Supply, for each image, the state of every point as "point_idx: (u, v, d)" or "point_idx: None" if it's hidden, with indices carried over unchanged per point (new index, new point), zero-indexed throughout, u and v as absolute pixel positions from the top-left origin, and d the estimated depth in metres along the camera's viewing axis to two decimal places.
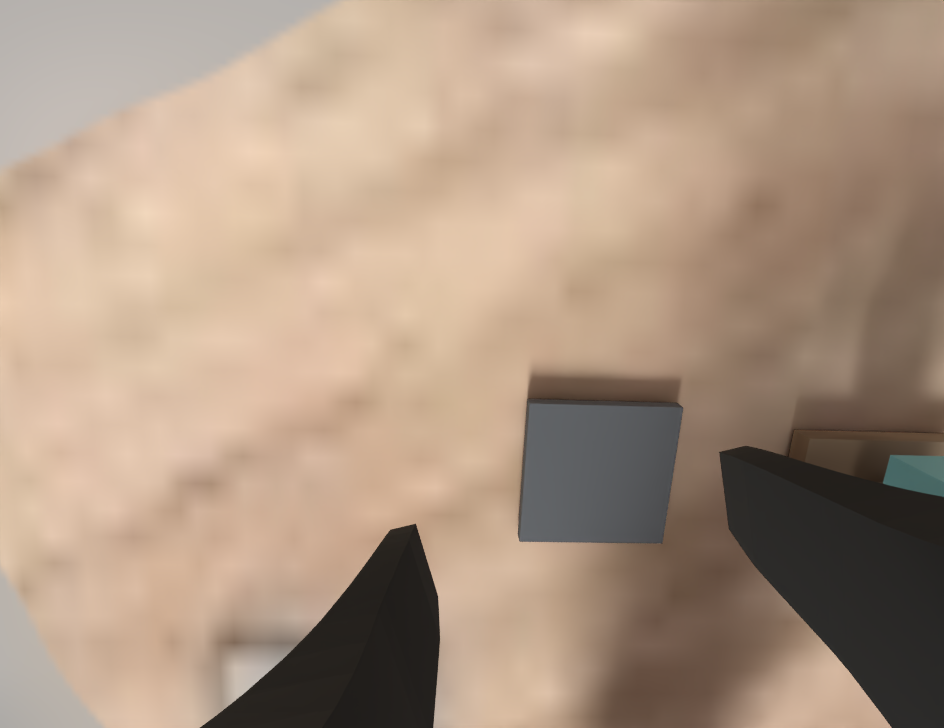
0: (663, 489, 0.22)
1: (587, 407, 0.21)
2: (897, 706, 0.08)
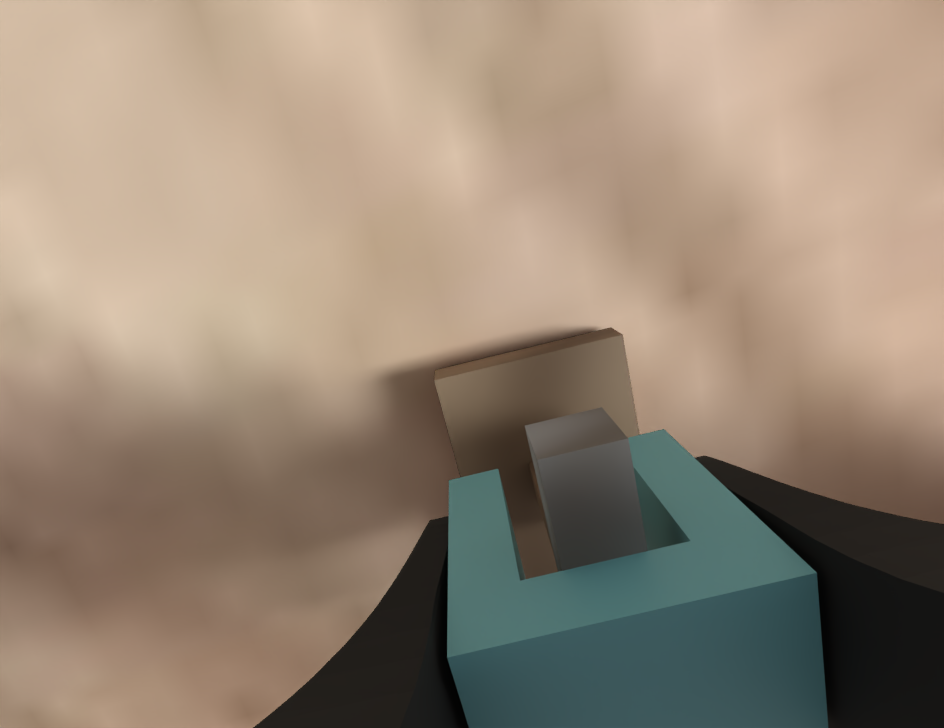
0: None
1: None
2: (836, 720, 0.08)
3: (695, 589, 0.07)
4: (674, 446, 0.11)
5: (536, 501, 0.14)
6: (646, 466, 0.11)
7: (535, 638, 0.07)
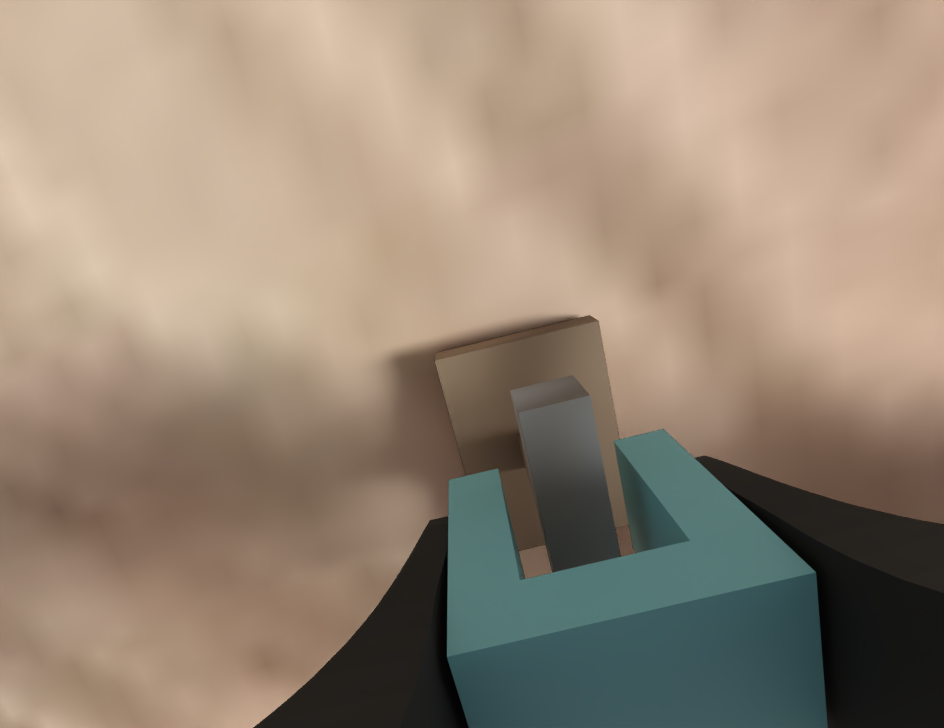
0: None
1: None
2: (836, 720, 0.08)
3: (695, 589, 0.07)
4: (674, 446, 0.11)
5: (524, 468, 0.16)
6: (646, 466, 0.11)
7: (535, 637, 0.07)
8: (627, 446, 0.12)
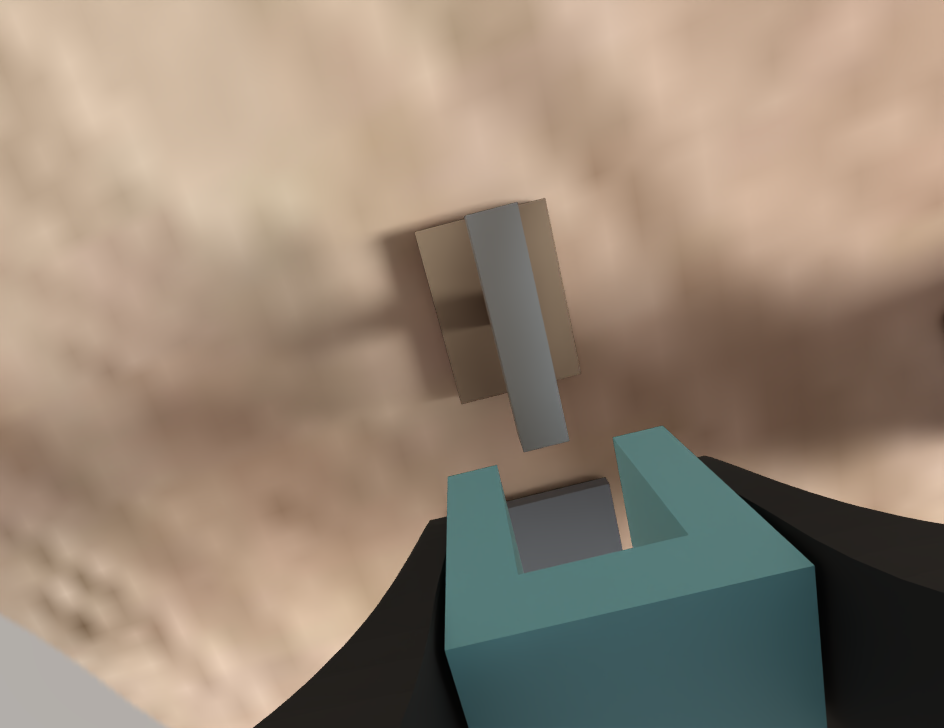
0: (551, 504, 0.23)
1: None
2: (836, 720, 0.08)
3: (693, 582, 0.07)
4: (673, 442, 0.11)
5: (489, 324, 0.20)
6: (645, 462, 0.11)
7: (533, 631, 0.07)
8: (626, 442, 0.12)
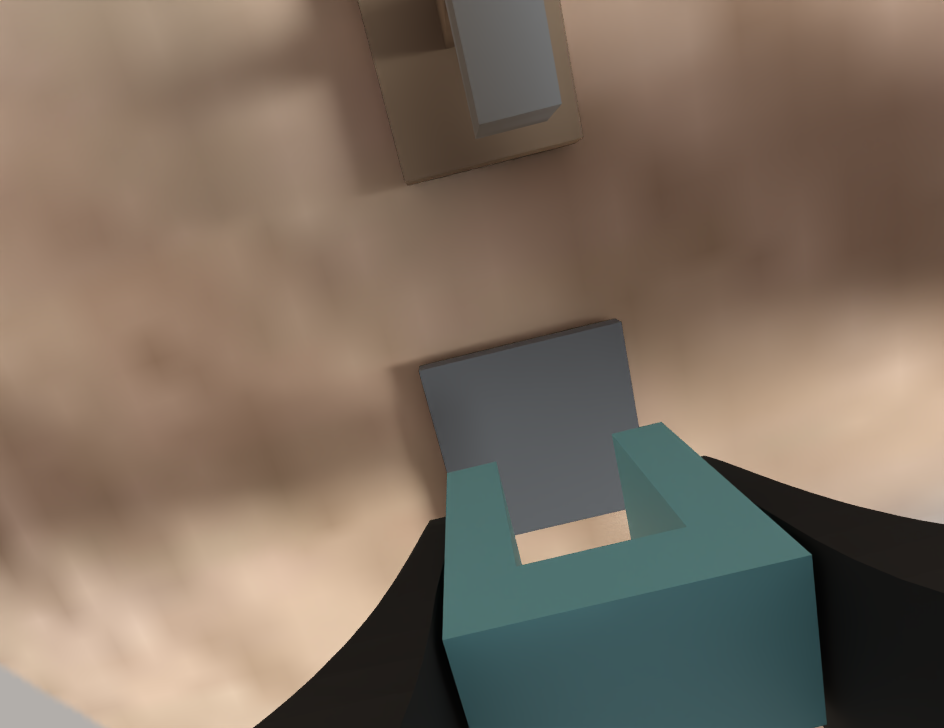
0: (538, 351, 0.16)
1: None
2: (836, 720, 0.08)
3: (691, 572, 0.07)
4: (671, 438, 0.11)
5: (445, 48, 0.13)
6: (643, 457, 0.11)
7: (530, 620, 0.07)
8: (625, 438, 0.12)
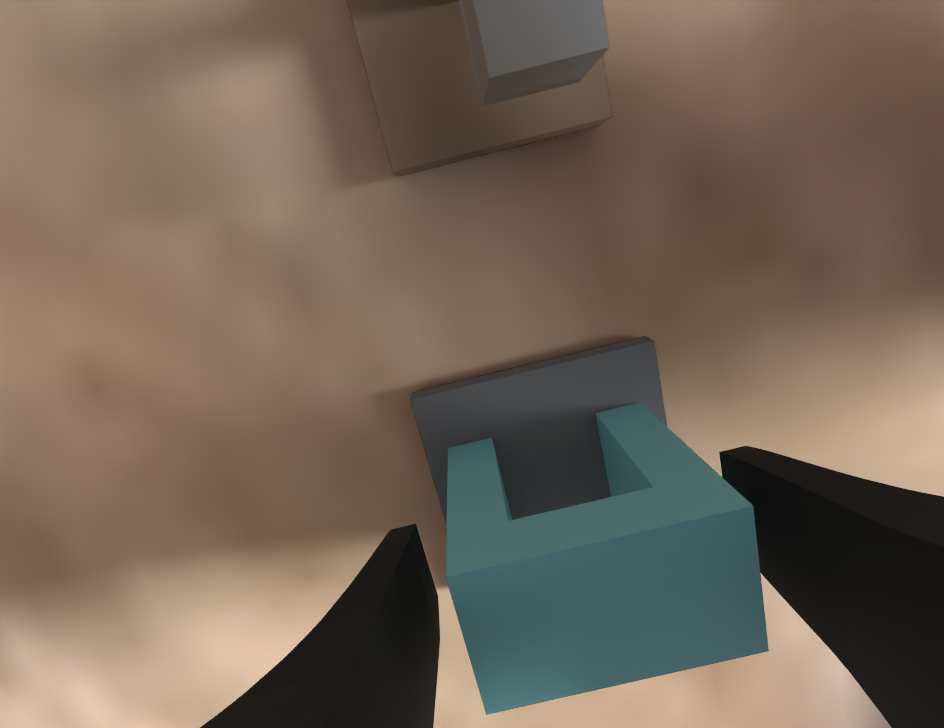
0: (554, 376, 0.13)
1: None
2: (897, 706, 0.08)
3: (653, 521, 0.09)
4: (648, 416, 0.13)
5: (441, 3, 0.11)
6: (622, 432, 0.12)
7: (519, 561, 0.09)
8: (607, 416, 0.13)
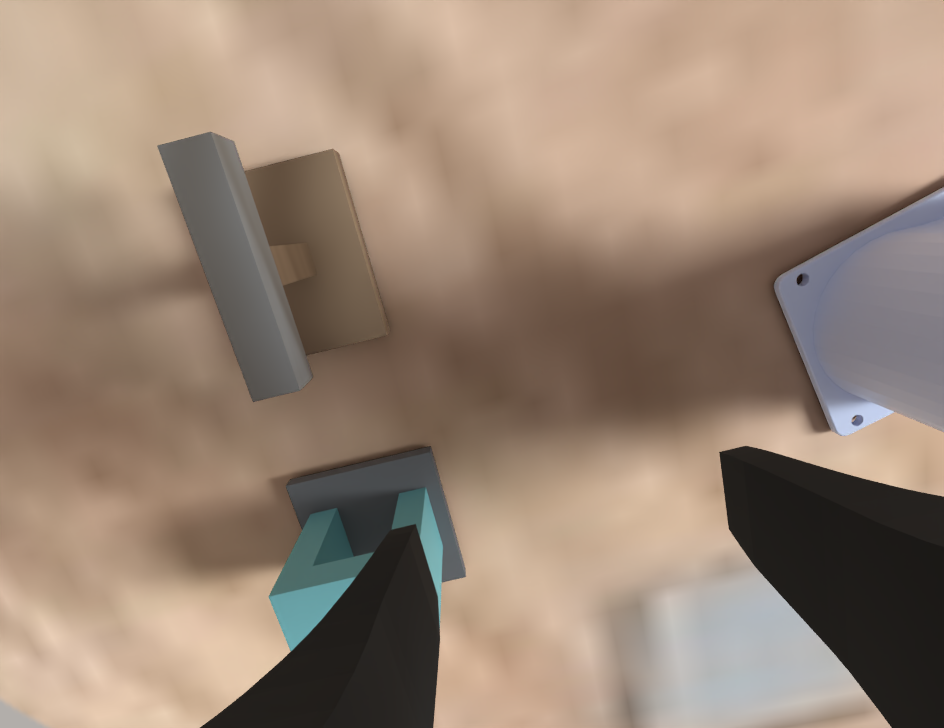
0: (371, 472, 0.22)
1: None
2: (897, 706, 0.08)
3: None
4: (421, 498, 0.21)
5: None
6: (400, 510, 0.21)
7: (305, 589, 0.17)
8: (402, 497, 0.22)
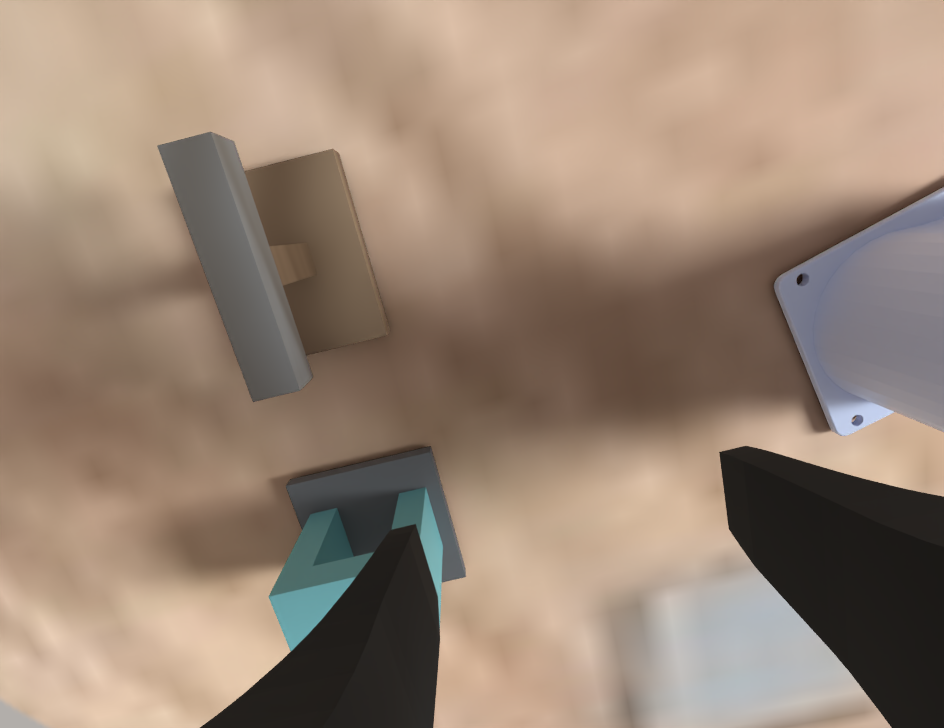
0: (371, 472, 0.22)
1: None
2: (897, 706, 0.08)
3: None
4: (421, 498, 0.21)
5: None
6: (400, 510, 0.21)
7: (305, 589, 0.17)
8: (402, 497, 0.22)
